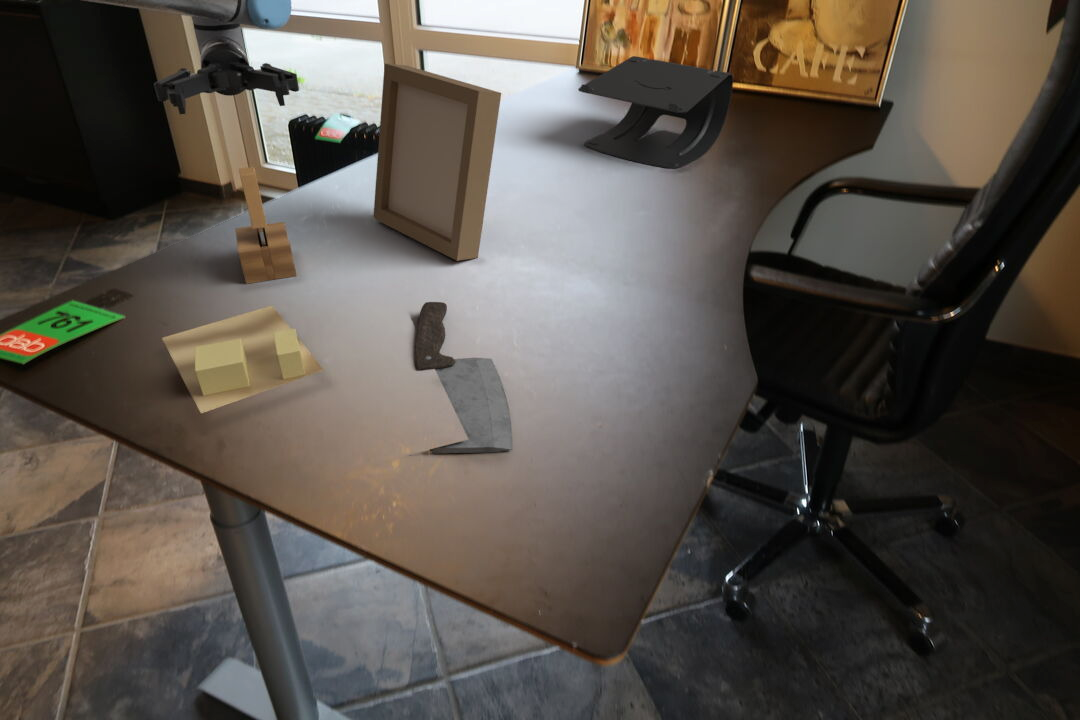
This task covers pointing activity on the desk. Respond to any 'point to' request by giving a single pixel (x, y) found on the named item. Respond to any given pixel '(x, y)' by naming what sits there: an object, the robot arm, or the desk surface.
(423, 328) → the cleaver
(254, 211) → the knife
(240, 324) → the board
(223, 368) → the butter
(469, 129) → the photo frame
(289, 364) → the block
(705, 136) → the laptop stand
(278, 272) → the knife block
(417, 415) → the desk surface
